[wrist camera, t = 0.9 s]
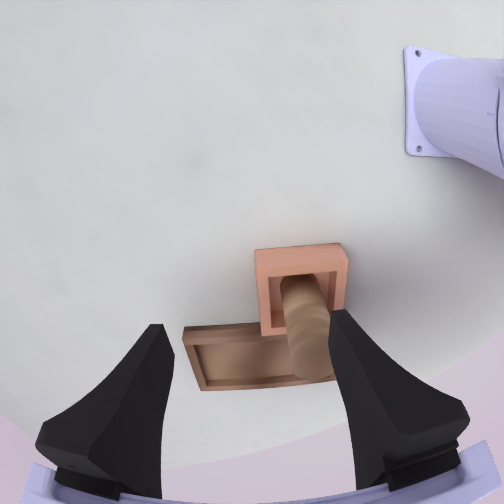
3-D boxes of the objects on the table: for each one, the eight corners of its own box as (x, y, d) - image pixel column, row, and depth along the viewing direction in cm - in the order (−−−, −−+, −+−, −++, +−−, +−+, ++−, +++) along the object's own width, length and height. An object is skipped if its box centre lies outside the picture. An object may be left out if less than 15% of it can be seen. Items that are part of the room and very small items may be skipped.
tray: (341, 314, 26) (346, 325, 25) (333, 369, 30) (336, 380, 28) (184, 326, 26) (182, 338, 25) (201, 379, 30) (200, 391, 29)
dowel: (318, 267, 23) (345, 344, 16) (316, 298, 24) (339, 376, 17) (279, 271, 23) (292, 351, 16) (280, 302, 24) (291, 382, 17)
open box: (339, 242, 22) (348, 259, 20) (334, 308, 25) (340, 327, 23) (254, 249, 22) (255, 268, 20) (260, 315, 26) (261, 336, 23)
